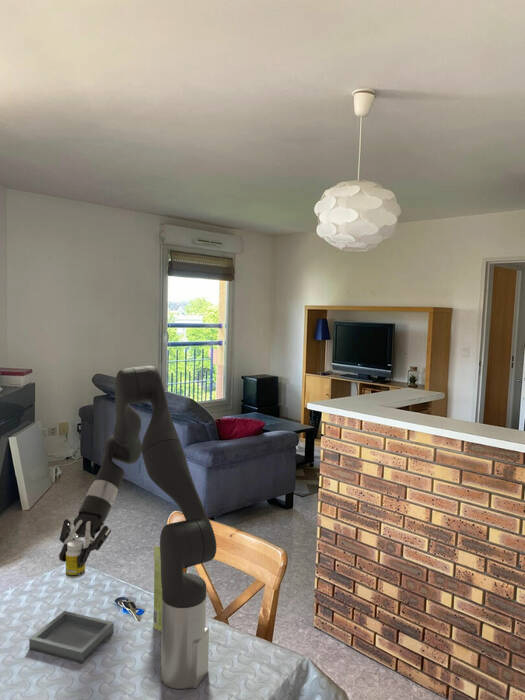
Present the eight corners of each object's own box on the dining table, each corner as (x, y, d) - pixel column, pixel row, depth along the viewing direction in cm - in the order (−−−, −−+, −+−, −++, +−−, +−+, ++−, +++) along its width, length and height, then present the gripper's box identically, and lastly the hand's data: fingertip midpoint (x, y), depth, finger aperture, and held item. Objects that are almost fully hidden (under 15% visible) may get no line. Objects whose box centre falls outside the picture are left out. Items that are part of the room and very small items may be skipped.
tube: (175, 618, 133) (177, 543, 132) (177, 630, 128) (178, 552, 127) (152, 621, 132) (153, 544, 131) (153, 633, 127) (154, 554, 126)
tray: (113, 632, 127) (113, 622, 127) (81, 663, 115) (82, 652, 115) (64, 620, 131) (64, 610, 131) (29, 649, 120) (29, 638, 119)
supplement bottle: (78, 580, 134) (78, 547, 134) (62, 578, 135) (61, 546, 135) (88, 571, 139) (88, 540, 139) (72, 569, 140) (72, 538, 140)
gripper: (70, 491, 145) (40, 552, 135) (116, 497, 141) (88, 561, 130) (83, 503, 151) (54, 563, 140) (127, 510, 146) (100, 572, 136)
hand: (70, 562), depth 135 cm, fingers closed on supplement bottle, 4 cm apart
